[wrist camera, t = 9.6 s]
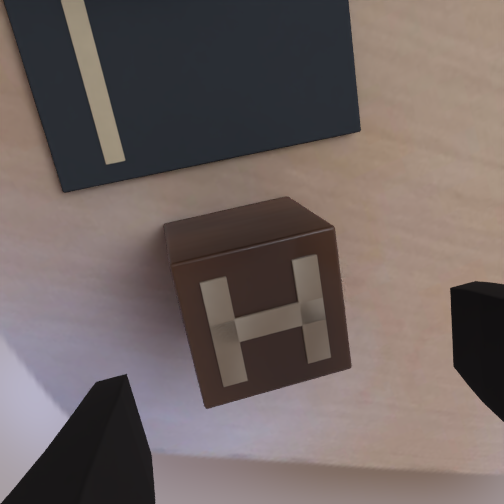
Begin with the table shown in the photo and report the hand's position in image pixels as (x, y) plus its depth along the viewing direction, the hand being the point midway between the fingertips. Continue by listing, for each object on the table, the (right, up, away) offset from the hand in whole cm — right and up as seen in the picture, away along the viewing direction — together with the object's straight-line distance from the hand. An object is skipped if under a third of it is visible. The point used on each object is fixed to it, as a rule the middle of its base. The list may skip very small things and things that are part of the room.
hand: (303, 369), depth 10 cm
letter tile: (-2, +2, +7) cm, 8 cm away
